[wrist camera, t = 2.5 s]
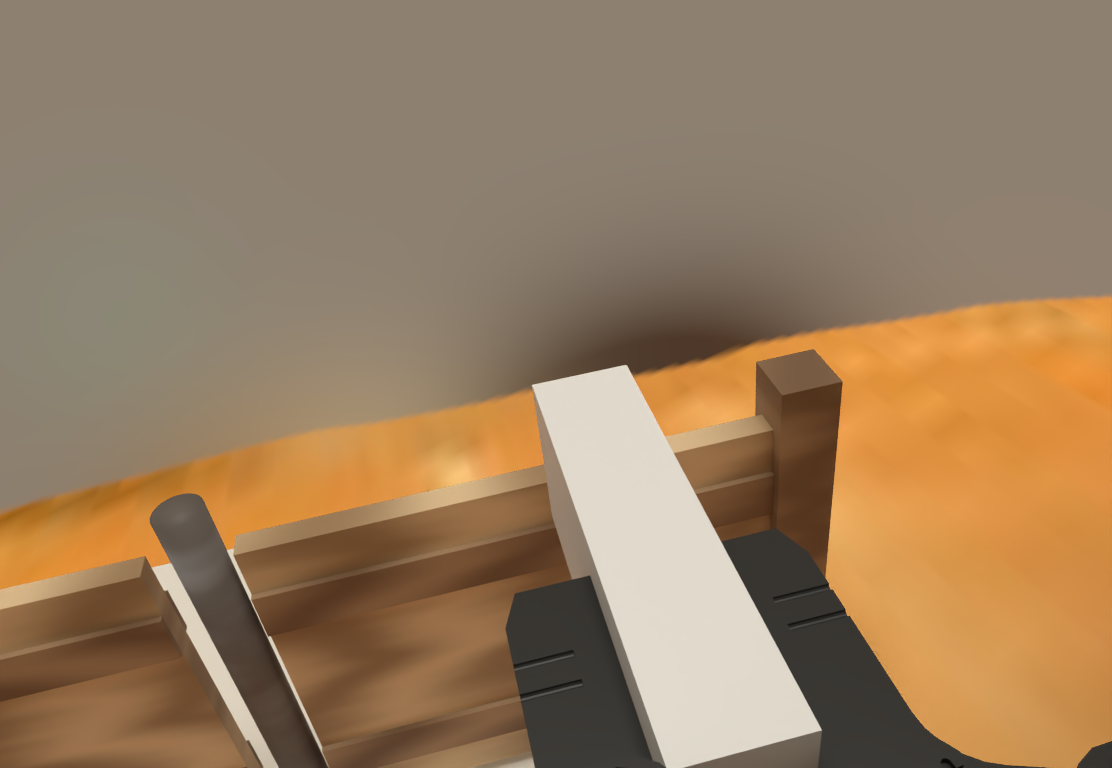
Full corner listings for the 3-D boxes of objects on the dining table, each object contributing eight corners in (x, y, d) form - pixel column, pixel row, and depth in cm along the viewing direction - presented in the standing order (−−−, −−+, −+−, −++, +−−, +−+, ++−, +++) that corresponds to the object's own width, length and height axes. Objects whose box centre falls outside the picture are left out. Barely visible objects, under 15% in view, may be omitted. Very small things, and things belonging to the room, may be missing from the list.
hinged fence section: (298, 826, 30) (144, 540, 22) (300, 779, 32) (155, 495, 24) (815, 688, 32) (842, 381, 24) (794, 650, 34) (813, 349, 26)
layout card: (704, 445, 46) (704, 438, 46) (909, 793, 30) (911, 785, 29) (-2, 609, 42) (-7, 602, 42) (-213, 1114, 26) (-223, 1108, 26)
